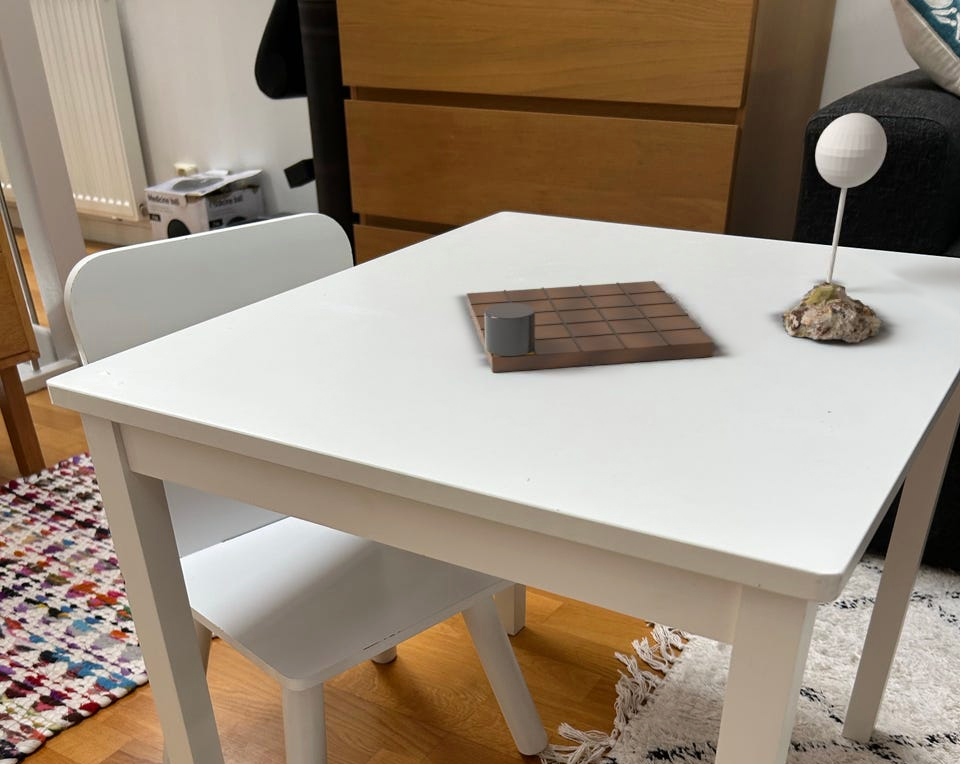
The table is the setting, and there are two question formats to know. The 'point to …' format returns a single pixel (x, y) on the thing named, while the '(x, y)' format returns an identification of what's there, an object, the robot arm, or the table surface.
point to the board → (596, 326)
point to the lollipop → (849, 159)
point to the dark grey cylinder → (509, 329)
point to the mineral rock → (831, 316)
